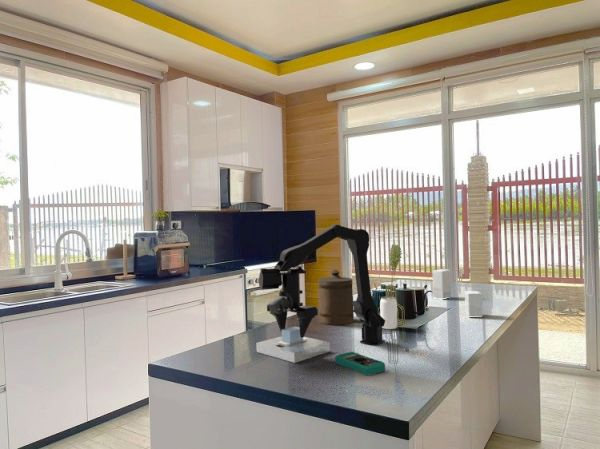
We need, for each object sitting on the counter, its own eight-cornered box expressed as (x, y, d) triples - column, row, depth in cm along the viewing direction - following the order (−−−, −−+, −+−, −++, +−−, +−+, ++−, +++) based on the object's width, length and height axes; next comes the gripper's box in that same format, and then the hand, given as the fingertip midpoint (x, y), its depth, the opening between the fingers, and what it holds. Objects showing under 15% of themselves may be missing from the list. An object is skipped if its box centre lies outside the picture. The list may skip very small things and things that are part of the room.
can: (390, 330, 173) (389, 299, 173) (377, 327, 178) (376, 297, 178) (400, 327, 177) (400, 297, 177) (387, 325, 182) (387, 295, 182)
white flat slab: (329, 351, 146) (329, 342, 146) (294, 362, 135) (294, 353, 135) (291, 342, 159) (291, 333, 159) (256, 351, 148) (256, 342, 148)
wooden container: (343, 316, 201) (342, 267, 201) (360, 323, 187) (358, 270, 187) (313, 319, 196) (312, 269, 196) (327, 326, 182) (326, 272, 182)
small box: (482, 318, 190) (482, 293, 190) (469, 318, 191) (468, 293, 191) (478, 314, 198) (477, 290, 198) (465, 314, 199) (464, 290, 199)
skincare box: (441, 297, 246) (440, 268, 246) (452, 298, 241) (451, 269, 241) (432, 299, 241) (431, 270, 241) (443, 300, 235) (442, 270, 235)
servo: (307, 349, 149) (306, 327, 149) (285, 356, 142) (285, 332, 142) (299, 347, 152) (298, 325, 152) (277, 353, 145) (276, 330, 145)
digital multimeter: (367, 377, 122) (367, 366, 122) (334, 364, 134) (333, 354, 134) (387, 372, 126) (387, 361, 126) (352, 359, 138) (352, 350, 138)
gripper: (253, 288, 148) (255, 335, 148) (293, 293, 135) (294, 345, 135) (278, 284, 156) (280, 329, 156) (318, 289, 142) (319, 338, 142)
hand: (292, 335), depth 147 cm, fingers open, 9 cm apart
